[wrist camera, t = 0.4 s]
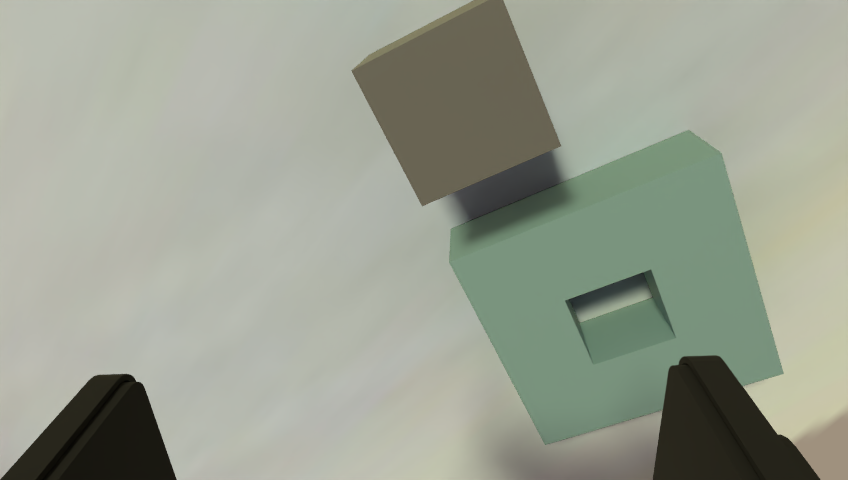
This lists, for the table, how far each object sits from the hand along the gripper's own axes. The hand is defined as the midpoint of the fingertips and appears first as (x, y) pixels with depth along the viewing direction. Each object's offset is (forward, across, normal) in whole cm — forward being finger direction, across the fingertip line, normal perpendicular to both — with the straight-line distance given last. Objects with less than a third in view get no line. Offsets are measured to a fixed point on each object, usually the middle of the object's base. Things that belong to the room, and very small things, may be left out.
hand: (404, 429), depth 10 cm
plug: (+25, -2, -2) cm, 25 cm away
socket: (+25, -10, +11) cm, 29 cm away
